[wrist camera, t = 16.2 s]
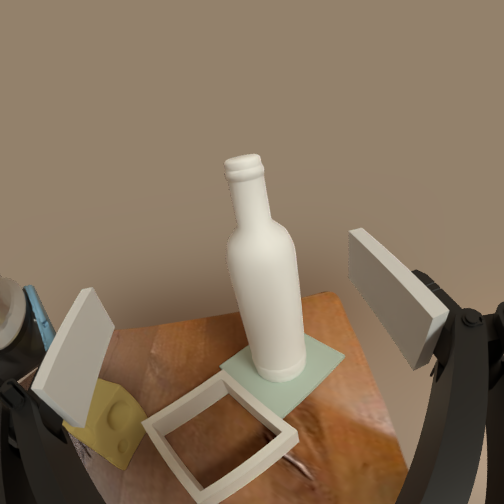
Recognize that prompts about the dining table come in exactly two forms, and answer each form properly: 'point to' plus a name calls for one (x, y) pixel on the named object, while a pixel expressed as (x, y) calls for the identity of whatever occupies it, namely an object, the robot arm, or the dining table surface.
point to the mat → (291, 392)
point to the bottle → (264, 275)
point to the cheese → (112, 424)
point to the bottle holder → (199, 402)
